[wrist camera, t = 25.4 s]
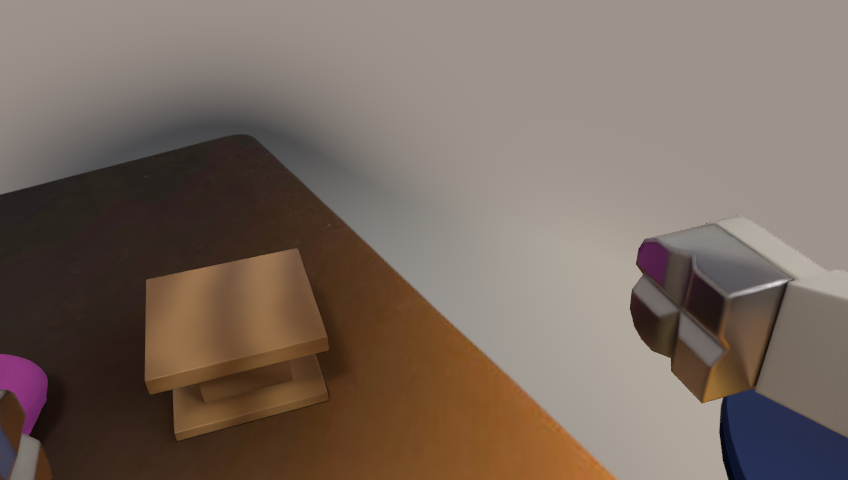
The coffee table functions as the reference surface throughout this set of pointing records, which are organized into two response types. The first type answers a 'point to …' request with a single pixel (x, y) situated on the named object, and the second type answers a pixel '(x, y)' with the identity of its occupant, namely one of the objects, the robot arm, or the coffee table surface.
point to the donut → (24, 386)
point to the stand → (234, 342)
